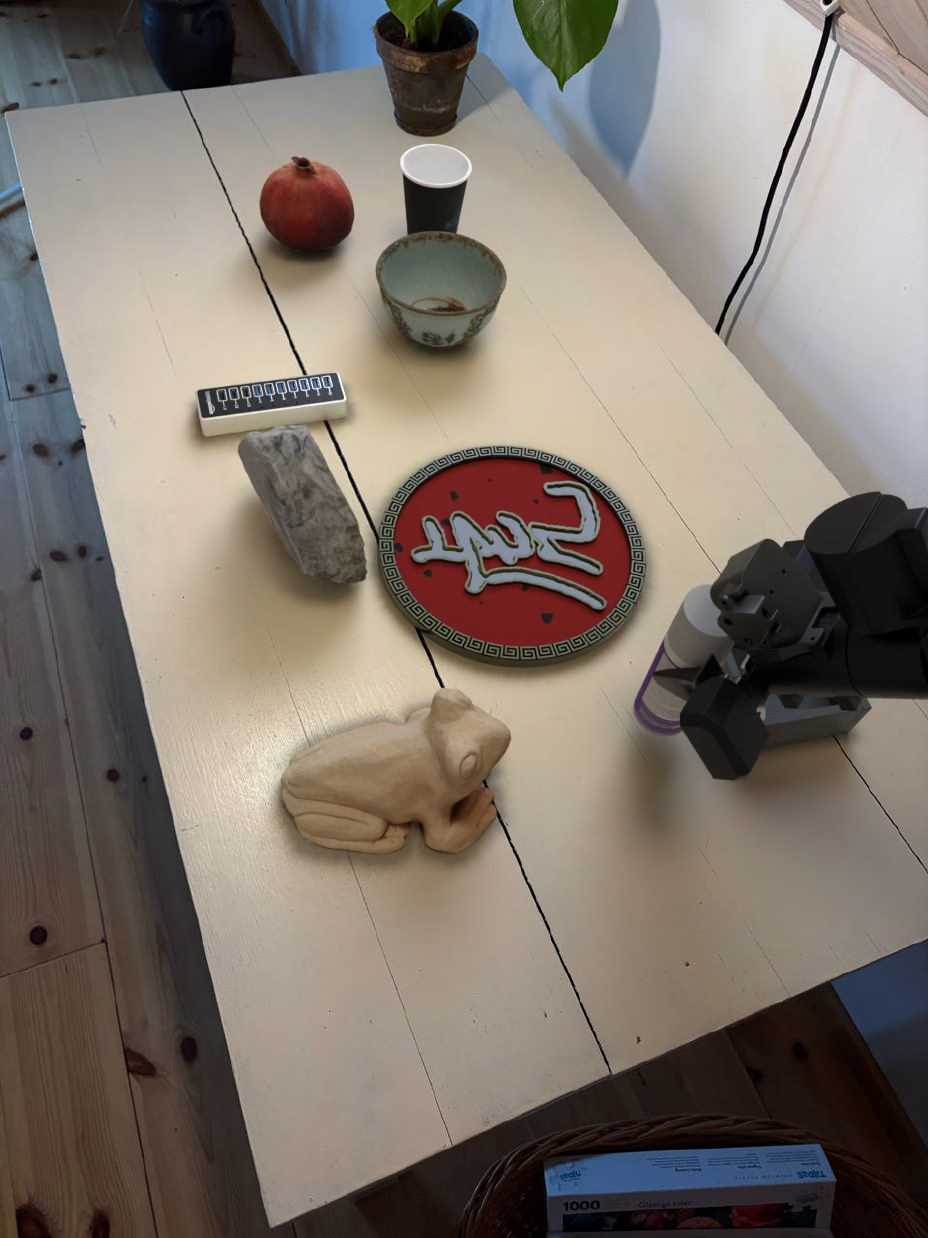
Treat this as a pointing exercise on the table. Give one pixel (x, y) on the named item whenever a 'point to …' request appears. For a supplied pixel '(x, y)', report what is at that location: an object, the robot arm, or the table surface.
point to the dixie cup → (434, 187)
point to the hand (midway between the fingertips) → (669, 655)
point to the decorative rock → (305, 503)
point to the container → (681, 660)
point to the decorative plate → (511, 556)
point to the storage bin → (800, 712)
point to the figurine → (400, 780)
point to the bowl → (440, 287)
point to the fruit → (306, 206)
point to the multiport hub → (271, 403)
